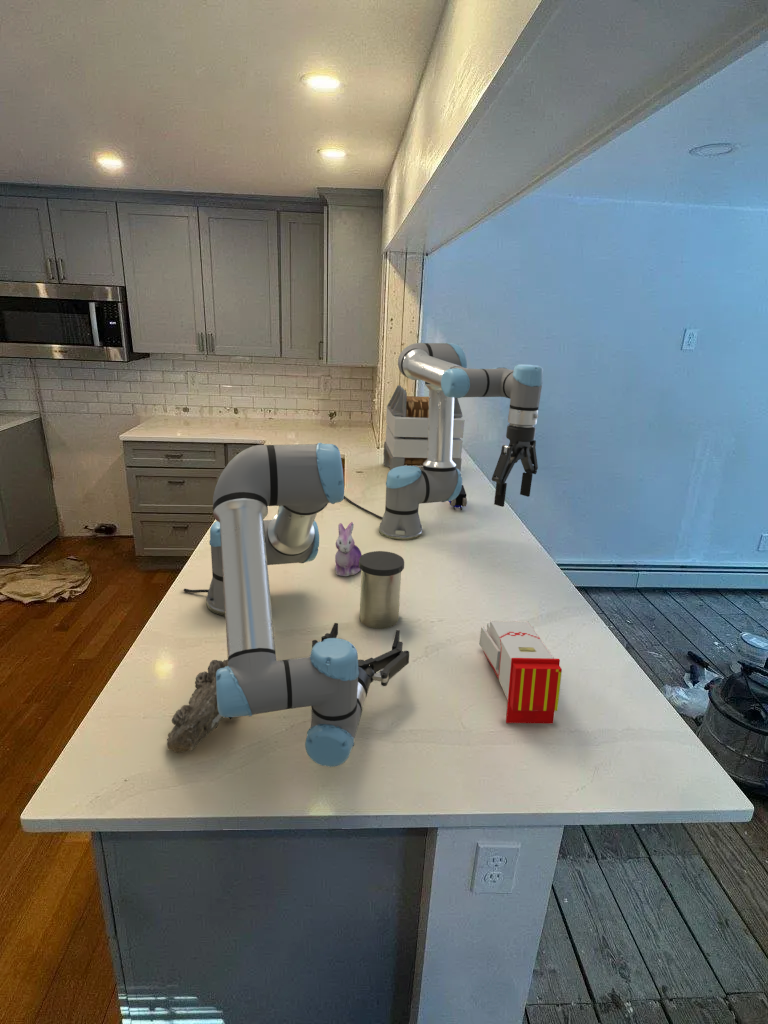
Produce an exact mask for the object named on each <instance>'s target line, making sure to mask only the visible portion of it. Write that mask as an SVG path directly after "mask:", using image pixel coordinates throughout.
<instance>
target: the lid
mask: <svg viewBox="0 0 768 1024" xmlns="http://www.w3.org/2000/svg"><path fill="white" fill-rule="evenodd" d="M359 568H360V569H361V570H362V571H363V572H365V573H368V574H371V575H375V576H391V575H395V574H398V573H400V572H401V573H402V572H403V571H404V569H405V559H404V558H403V557H402V556H401V555H399V554H398V553H395V552H392V551H391V552H390V551H385V550H376V551H369V552H365V553H364V554H362V556H361V557H360V558H359ZM361 570H360V571H361Z"/></svg>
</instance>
